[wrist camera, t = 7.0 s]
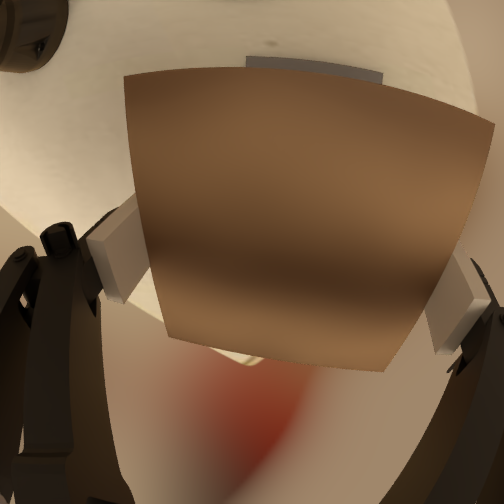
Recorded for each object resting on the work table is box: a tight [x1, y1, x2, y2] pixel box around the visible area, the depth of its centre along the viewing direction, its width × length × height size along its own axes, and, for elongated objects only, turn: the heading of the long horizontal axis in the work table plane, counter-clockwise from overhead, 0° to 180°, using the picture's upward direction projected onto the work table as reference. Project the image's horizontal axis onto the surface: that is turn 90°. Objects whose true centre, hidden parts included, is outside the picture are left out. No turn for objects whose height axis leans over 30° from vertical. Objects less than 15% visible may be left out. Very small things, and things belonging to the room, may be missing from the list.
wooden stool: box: [124, 67, 495, 372], centre depth 13 cm, size 12×11×10 cm
